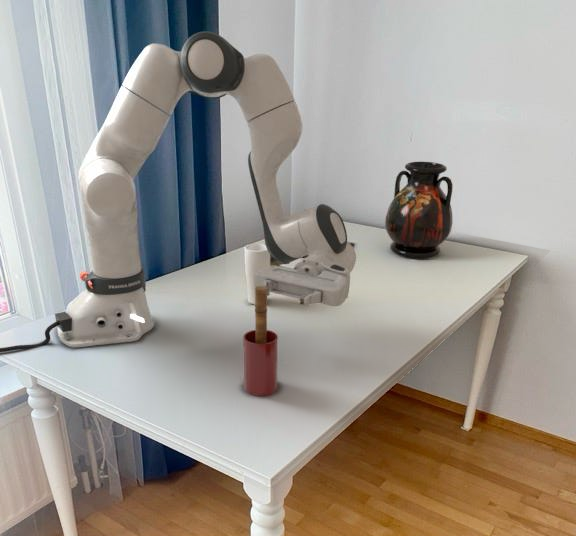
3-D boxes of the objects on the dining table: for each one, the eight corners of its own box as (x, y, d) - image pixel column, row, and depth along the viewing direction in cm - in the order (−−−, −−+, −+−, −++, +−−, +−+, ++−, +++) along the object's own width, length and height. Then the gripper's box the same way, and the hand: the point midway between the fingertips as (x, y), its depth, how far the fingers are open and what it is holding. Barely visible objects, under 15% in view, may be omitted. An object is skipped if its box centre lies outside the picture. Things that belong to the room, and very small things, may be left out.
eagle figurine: (270, 276, 175) (295, 266, 178) (260, 254, 174) (285, 243, 178) (261, 282, 182) (285, 272, 185) (251, 261, 181) (275, 251, 185)
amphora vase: (370, 254, 199) (379, 165, 184) (399, 238, 214) (409, 156, 200) (431, 267, 188) (445, 175, 174) (457, 250, 204) (471, 164, 189)
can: (252, 399, 119) (252, 347, 113) (238, 383, 124) (237, 333, 118) (282, 391, 122) (283, 340, 116) (267, 376, 127) (268, 327, 121)
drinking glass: (266, 307, 158) (267, 252, 151) (242, 305, 159) (241, 250, 152) (272, 298, 164) (273, 244, 156) (248, 295, 165) (247, 242, 158)
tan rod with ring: (258, 388, 121) (258, 291, 111) (253, 383, 123) (252, 286, 112) (268, 386, 122) (269, 289, 112) (263, 380, 124) (263, 284, 113)
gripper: (272, 254, 134) (238, 272, 123) (356, 271, 126) (328, 292, 115) (272, 281, 137) (239, 301, 127) (354, 299, 129) (326, 322, 118)
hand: (282, 297), depth 121 cm, fingers open, 8 cm apart
